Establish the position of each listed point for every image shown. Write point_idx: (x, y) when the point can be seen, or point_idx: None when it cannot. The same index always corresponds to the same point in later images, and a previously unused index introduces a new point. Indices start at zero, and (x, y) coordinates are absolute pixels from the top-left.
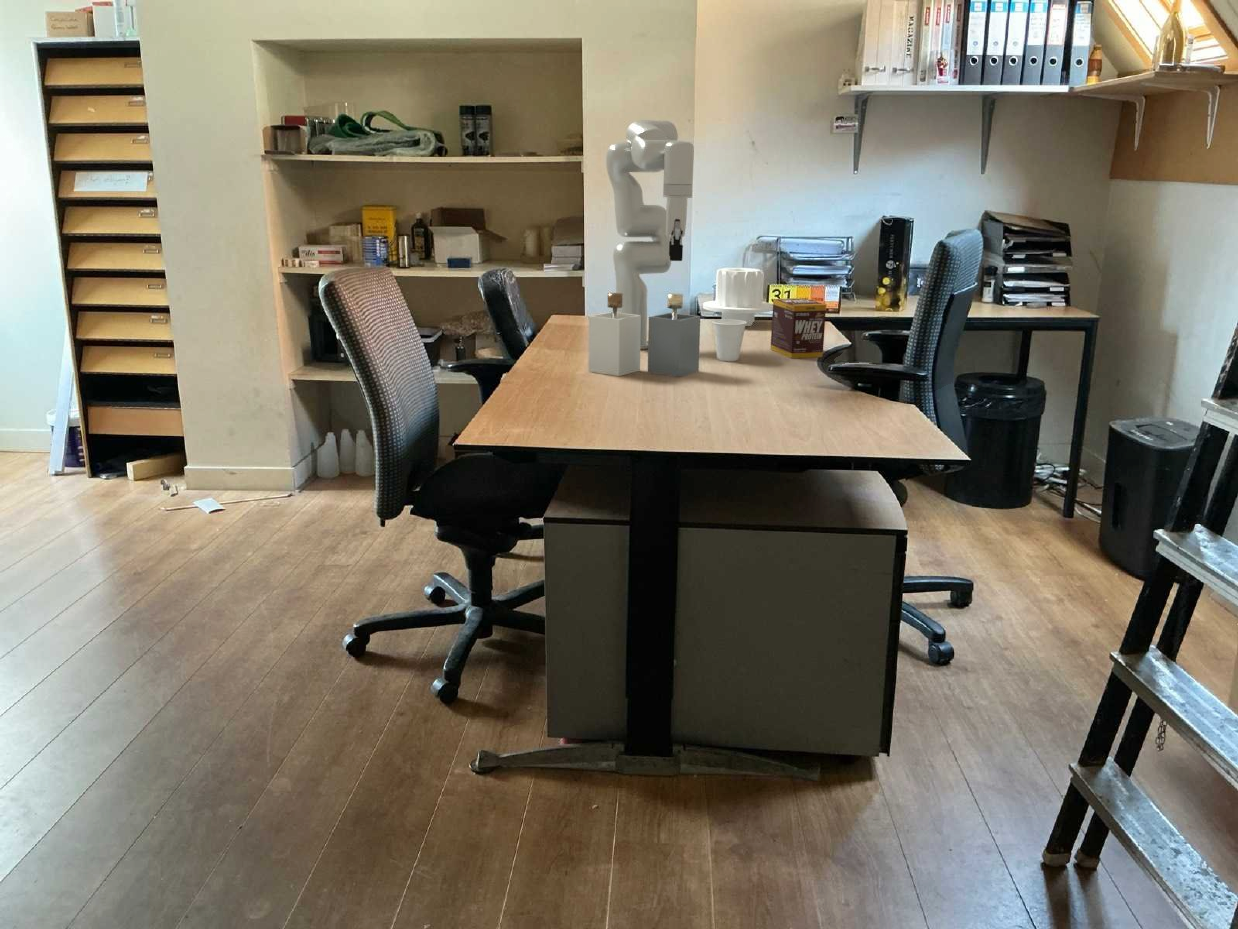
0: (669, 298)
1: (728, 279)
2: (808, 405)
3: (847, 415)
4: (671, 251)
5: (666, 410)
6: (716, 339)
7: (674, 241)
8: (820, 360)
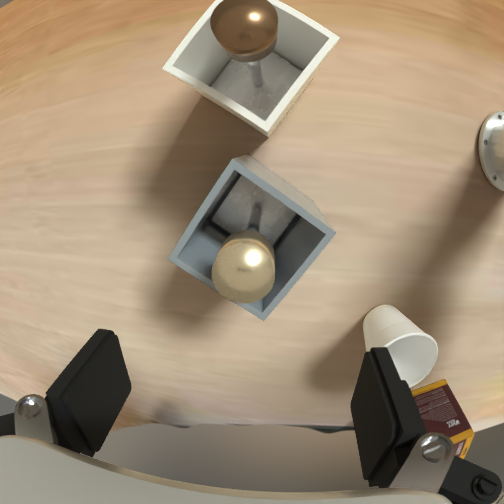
0: (223, 247)
1: None
2: (67, 362)
3: (47, 379)
4: (74, 368)
5: (2, 198)
6: (388, 321)
7: (6, 418)
8: (353, 429)
